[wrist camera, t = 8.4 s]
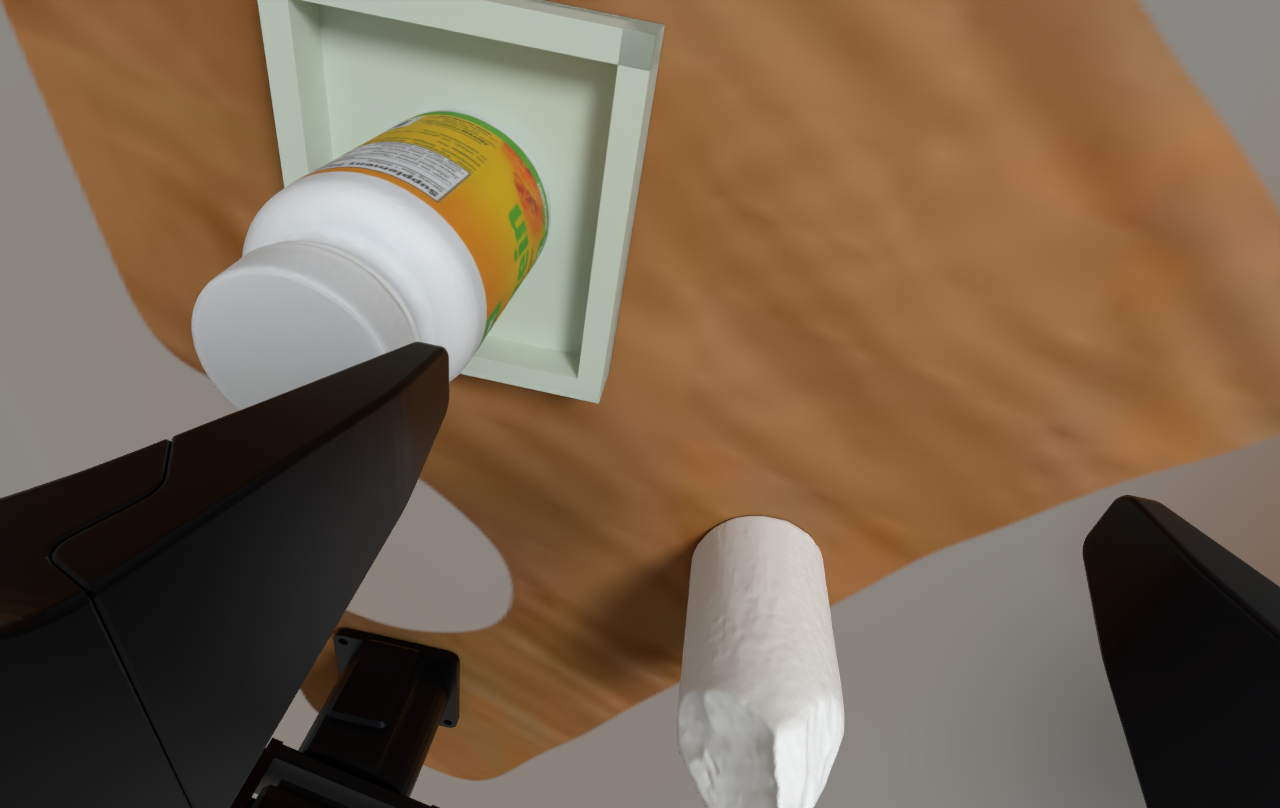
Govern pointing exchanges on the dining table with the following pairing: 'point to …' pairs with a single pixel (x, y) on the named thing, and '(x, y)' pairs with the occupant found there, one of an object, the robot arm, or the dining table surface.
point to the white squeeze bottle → (759, 668)
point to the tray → (516, 100)
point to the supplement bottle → (377, 258)
